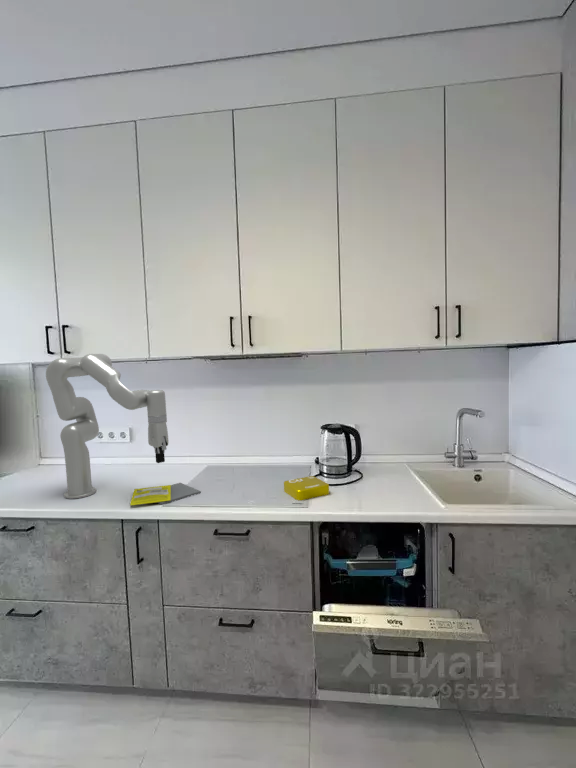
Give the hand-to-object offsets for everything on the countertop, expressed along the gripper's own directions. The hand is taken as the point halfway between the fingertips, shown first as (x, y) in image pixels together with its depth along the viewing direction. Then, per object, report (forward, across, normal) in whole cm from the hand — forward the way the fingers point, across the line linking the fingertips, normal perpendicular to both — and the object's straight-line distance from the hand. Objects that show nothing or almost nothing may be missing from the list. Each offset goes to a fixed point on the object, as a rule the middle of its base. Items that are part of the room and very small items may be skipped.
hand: (160, 462), depth 171 cm
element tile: (+15, +45, +42) cm, 63 cm away
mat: (+14, +2, +3) cm, 15 cm away
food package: (+13, -9, 0) cm, 16 cm away
